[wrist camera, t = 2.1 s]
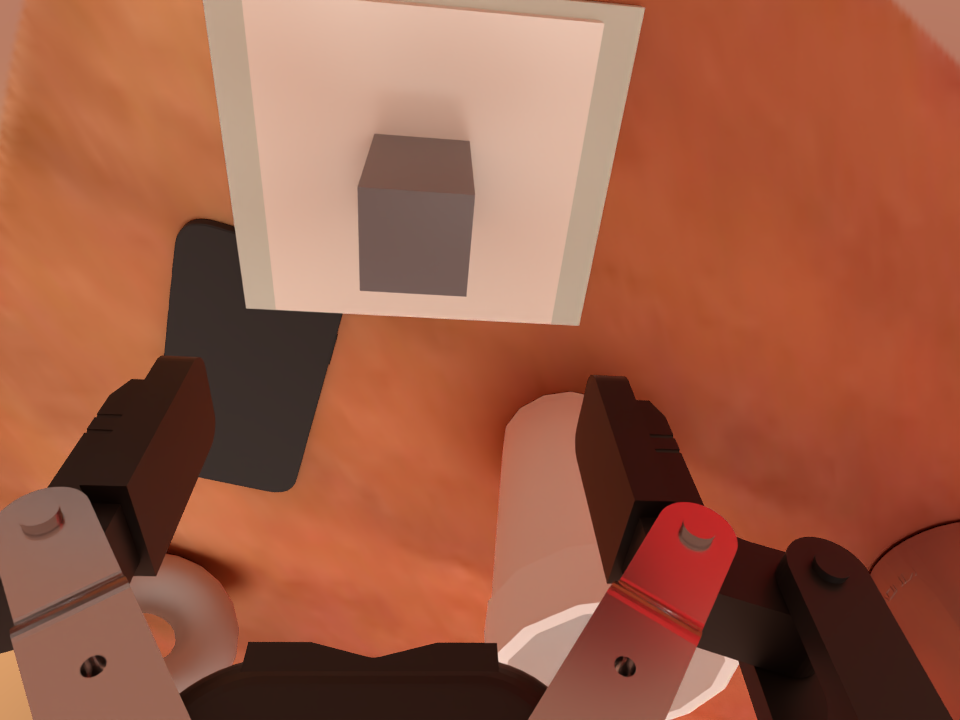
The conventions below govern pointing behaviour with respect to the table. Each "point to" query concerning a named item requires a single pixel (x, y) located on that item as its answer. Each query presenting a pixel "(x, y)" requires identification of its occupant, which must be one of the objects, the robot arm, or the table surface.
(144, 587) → the donut
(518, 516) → the foam cup
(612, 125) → the mat
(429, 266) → the lid
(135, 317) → the table surface
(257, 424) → the phone
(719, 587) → the robot arm
